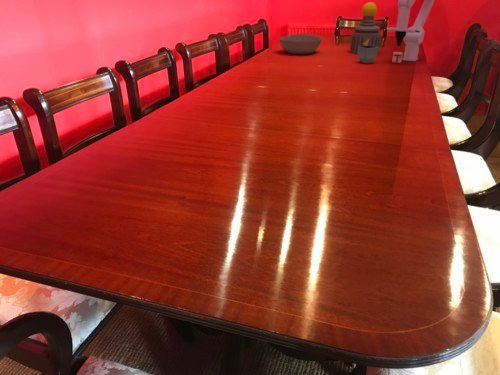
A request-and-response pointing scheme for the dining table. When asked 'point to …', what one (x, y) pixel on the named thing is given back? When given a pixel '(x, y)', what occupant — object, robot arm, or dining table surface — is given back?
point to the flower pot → (367, 53)
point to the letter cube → (397, 57)
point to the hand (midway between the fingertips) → (398, 45)
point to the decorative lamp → (366, 30)
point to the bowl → (300, 43)
